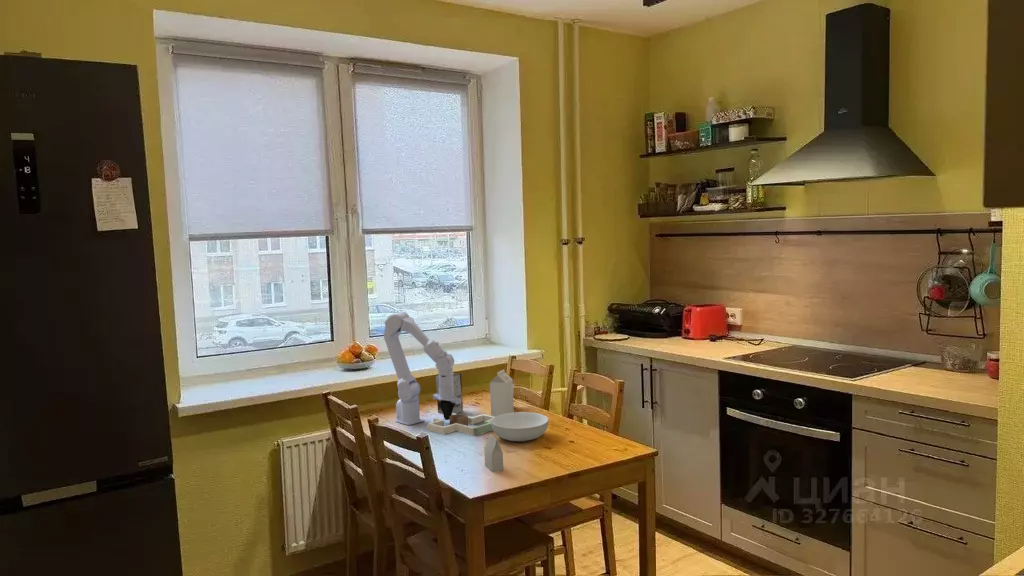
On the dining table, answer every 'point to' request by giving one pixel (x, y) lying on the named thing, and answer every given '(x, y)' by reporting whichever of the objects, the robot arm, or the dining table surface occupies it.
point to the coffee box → (457, 392)
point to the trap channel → (480, 420)
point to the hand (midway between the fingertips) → (447, 419)
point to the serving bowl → (520, 426)
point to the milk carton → (501, 394)
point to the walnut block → (459, 419)
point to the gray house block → (493, 455)
